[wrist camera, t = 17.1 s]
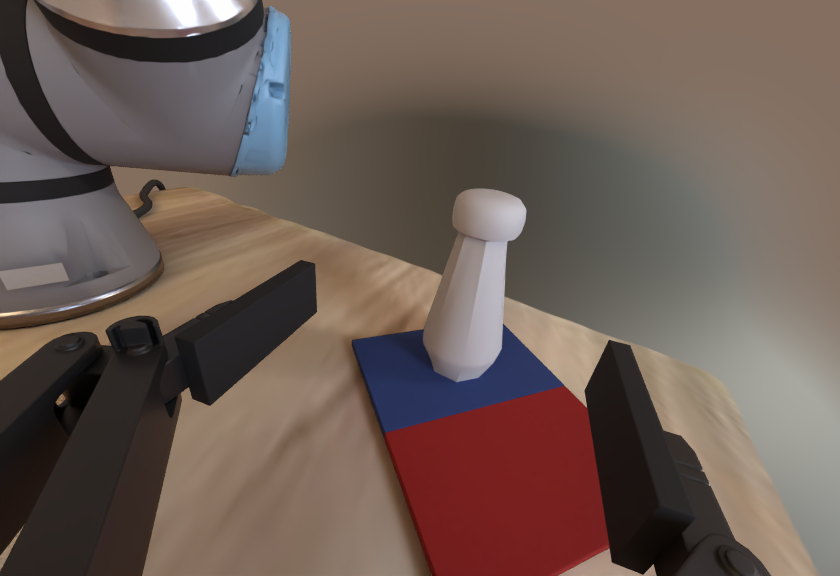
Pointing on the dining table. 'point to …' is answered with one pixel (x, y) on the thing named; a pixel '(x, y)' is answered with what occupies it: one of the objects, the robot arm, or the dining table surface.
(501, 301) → the salt shaker
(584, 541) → the sorting mat
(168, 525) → the dining table surface
